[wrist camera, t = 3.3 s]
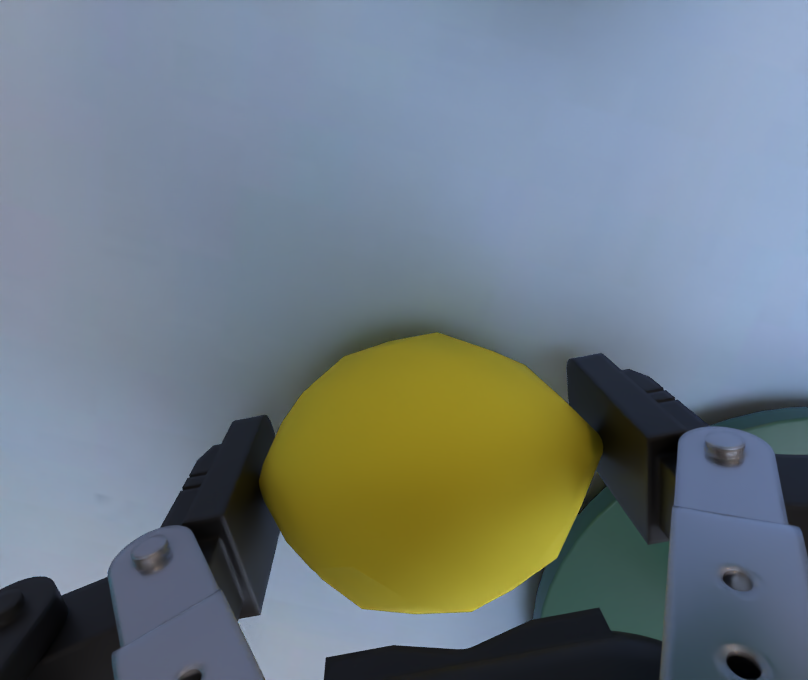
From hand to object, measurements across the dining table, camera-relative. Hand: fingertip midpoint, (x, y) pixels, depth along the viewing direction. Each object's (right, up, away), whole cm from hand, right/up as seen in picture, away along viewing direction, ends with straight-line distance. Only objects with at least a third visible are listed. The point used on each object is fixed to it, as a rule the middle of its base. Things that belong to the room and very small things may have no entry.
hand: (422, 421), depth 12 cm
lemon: (0, 0, +1) cm, 1 cm away
